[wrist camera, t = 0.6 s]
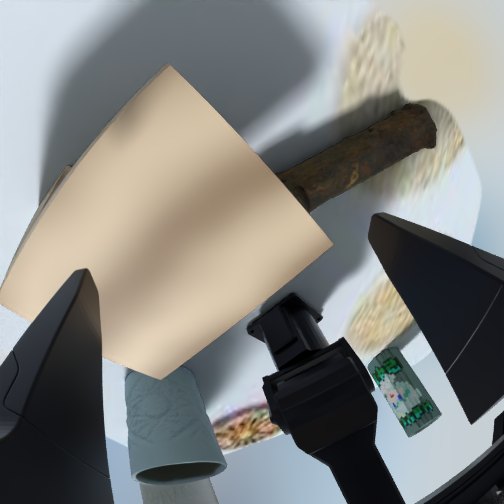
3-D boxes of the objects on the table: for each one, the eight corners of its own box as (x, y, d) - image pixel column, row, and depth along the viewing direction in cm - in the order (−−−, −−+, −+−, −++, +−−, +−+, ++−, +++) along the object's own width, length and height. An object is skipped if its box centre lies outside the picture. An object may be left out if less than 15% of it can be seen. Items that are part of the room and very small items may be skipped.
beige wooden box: (268, 170, 23) (333, 244, 15) (149, 281, 25) (160, 380, 18) (161, 60, 16) (170, 65, 9) (38, 207, 18) (-5, 301, 11)
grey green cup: (141, 350, 30) (157, 459, 21) (218, 369, 36) (247, 460, 27) (108, 393, 33) (117, 483, 24) (177, 406, 39) (196, 486, 30)
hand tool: (404, 96, 22) (443, 111, 18) (410, 136, 25) (446, 155, 21) (197, 192, 22) (208, 225, 19) (220, 231, 25) (235, 268, 21)
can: (381, 349, 47) (427, 421, 35) (402, 345, 49) (447, 410, 38) (362, 371, 50) (402, 441, 38) (384, 367, 52) (423, 430, 41)
